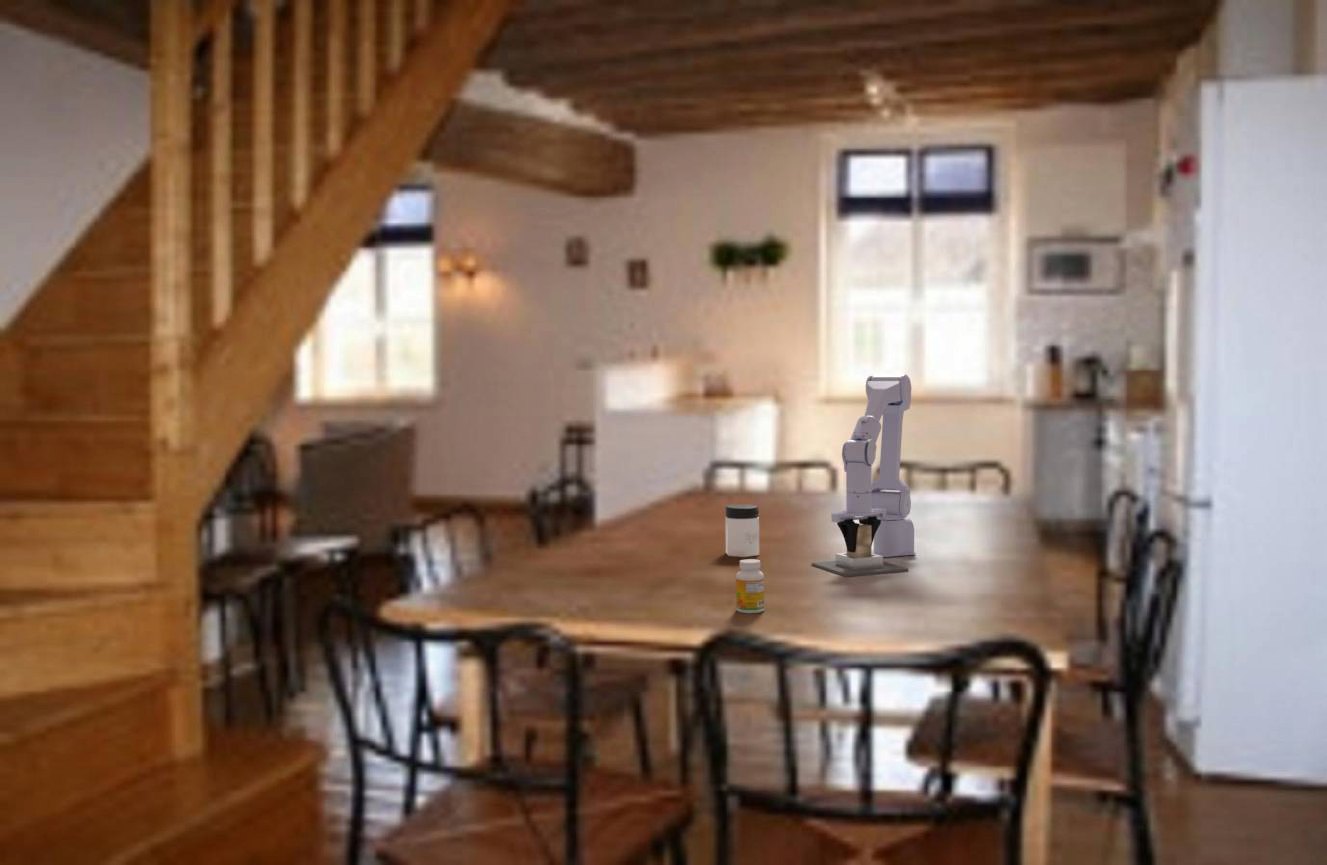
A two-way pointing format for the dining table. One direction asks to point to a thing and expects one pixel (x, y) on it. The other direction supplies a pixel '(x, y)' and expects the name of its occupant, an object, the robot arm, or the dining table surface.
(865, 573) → the mat
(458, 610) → the dining table surface
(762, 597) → the supplement bottle
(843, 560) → the socket
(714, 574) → the dining table surface
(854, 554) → the beige block
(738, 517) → the jar
